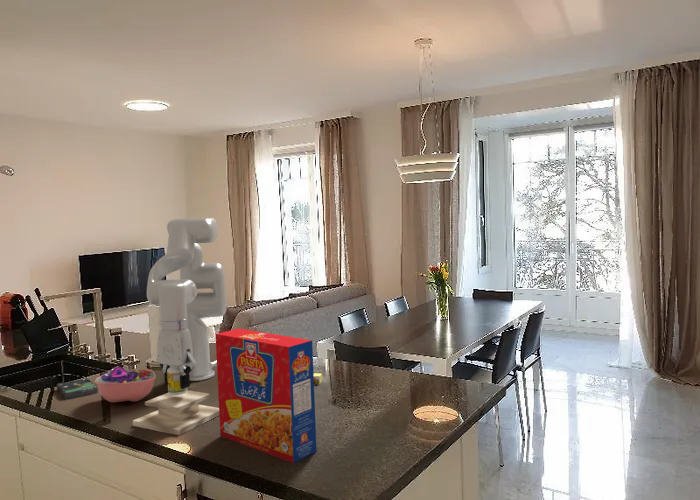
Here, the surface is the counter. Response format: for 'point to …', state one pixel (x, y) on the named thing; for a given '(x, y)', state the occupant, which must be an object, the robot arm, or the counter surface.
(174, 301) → the robot arm
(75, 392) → the disk drive
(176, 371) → the supplement bottle
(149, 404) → the stand
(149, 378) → the cell model
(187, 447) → the counter surface
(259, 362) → the pasta box
